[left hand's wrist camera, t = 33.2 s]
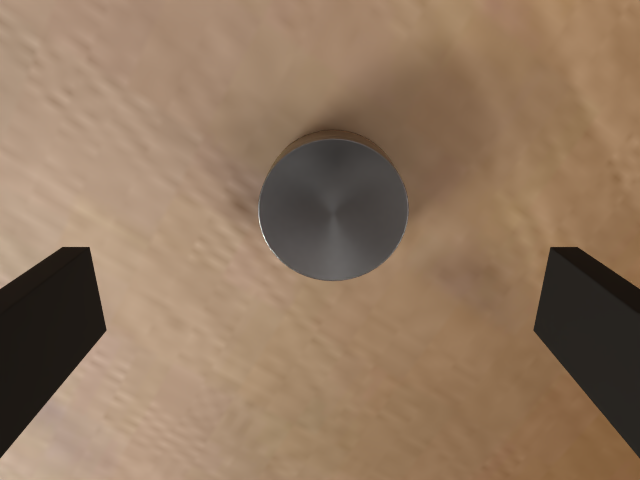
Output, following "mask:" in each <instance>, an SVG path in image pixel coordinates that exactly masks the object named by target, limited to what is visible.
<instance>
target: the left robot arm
mask: <svg viewBox="0 0 640 480" xmlns="http://www.w3.org/2000/svg"><path fill="white" fill-rule="evenodd" d="M105 332H106V325H105V320H104V316H103V311H102V306H101V301H100V296H99V291H98V286H97V281H96V276H95V272H94V267H93V262H92V257H91V252H90V247H62V248H61V249H59V250H58V251H56V252H55V253H53V254H52V255H50V256H49V257H47V258H46V259H44V260H43V261H41V262H40V263H38V264H37V265H35V266H34V267H32V268H31V269H29V270H28V271H26V272H25V273H23V274H22V275H20V276H19V277H18V278H16V279H15V280H13V281H12V282H10V283H9V284H7V285H6V286H4V287H3V288H1V289H0V458H1V457H2V456H3V454H4V453H5V452H6V451H7V450H8V448H9V447H10V446H11V445H12V444H13V442H14V441H15V440H16V439H17V438H18V436H19V435H20V434H21V433H22V432H23V430H24V429H25V428H26V427H27V425H28V424H29V423H30V422H31V421H32V419H33V418H34V417H35V416H36V415H37V413H38V412H39V411H40V410H41V409H42V407H43V406H44V405H45V404H46V403H47V401H48V400H49V399H50V398H51V397H52V395H53V394H54V393H55V392H56V391H57V389H58V388H59V387H60V386H61V385H62V383H63V382H64V381H65V380H66V379H67V377H68V376H69V375H70V374H71V373H72V371H73V370H74V369H75V368H76V366H77V365H78V364H79V363H80V362H81V360H82V359H83V358H84V357H85V356H86V354H87V353H88V352H89V351H90V350H91V348H92V347H93V346H94V345H95V344H96V342H97V341H98V340H99V339H100V338H101V336H102V335H103V334H104V333H105ZM534 332H535V333H536V334H537V335H538V336H539V338H540V339H541V340H542V341H543V342H544V344H545V345H546V346H547V347H548V348H549V350H550V351H551V352H552V353H553V354H554V356H555V357H556V358H557V359H558V360H559V362H560V363H561V364H562V365H563V367H564V368H565V369H566V370H567V371H568V373H569V374H570V375H571V376H572V377H573V379H574V380H575V381H576V382H577V383H578V385H579V386H580V387H581V388H582V389H583V391H584V392H585V393H586V394H587V395H588V397H589V398H590V399H591V400H592V401H593V403H594V404H595V405H596V406H597V407H598V409H599V410H600V411H601V412H602V413H603V415H604V416H605V417H606V418H607V419H608V421H609V422H610V423H611V424H612V425H613V427H614V428H615V429H616V430H617V432H618V433H619V434H620V435H621V436H622V438H623V439H624V440H625V441H626V442H627V444H628V445H629V446H630V447H631V448H632V450H633V451H634V452H635V453H636V454H637V456H638V457H639V458H640V289H639V288H637V287H636V286H634V285H633V284H631V283H630V282H628V281H627V280H625V279H624V278H622V277H621V276H620V275H618V274H617V273H615V272H614V271H612V270H611V269H609V268H608V267H606V266H605V265H603V264H602V263H600V262H599V261H597V260H596V259H594V258H593V257H591V256H590V255H588V254H587V253H585V252H584V251H582V250H581V249H579V248H578V247H550V252H549V257H548V262H547V267H546V272H545V276H544V281H543V286H542V291H541V296H540V301H539V306H538V311H537V316H536V320H535V325H534Z"/></svg>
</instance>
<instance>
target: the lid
mask: <svg viewBox="0 0 640 480" xmlns="http://www.w3.org/2000/svg"><path fill="white" fill-rule="evenodd" d="M408 214H409V204H408V197H407V192H406V189H405V186H404V183H403V181H402V179H401V177H400V175H399V174H398V172H397V170H396V169H395V167H394V166H393V164H392V162H391V161H390V159H389V158H388V156H387V155H386V154H385V153H384V152H383V151H382V150H381V149H380V148H379V147H378V146H377V145H376V144H374V143H373V142H371V141H370V140H368V139H366V138H364V137H362V136H360V135H358V134H355V133H352V132H347V131H342V130H325V131H319V132H314V133H311V134H309V135H306V136H304V137H302V138H300V139H298V140H296V141H295V142H293V143H292V144H290V145H289V146H288V147H287V148H286V149H285V150H284V151H283V152H282V153H281V154H280V155H279V156H278V158H277V159H276V161H275V162H274V164H273V166H272V167H271V169H270V171H269V173H268V175H267V177H266V179H265V182H264V184H263V186H262V189H261V193H260V197H259V204H258V216H259V224H260V227H261V231H262V234H263V236H264V238H265V241H266V242H267V244H268V246H269V248H270V249H271V250H272V252H273V253H274V254H275V255H276V257H277V258H278V259H280V260H281V261H282V262H283V263H284V264H285V265H287V266H288V267H289V268H291V269H292V270H294V271H296V272H297V273H300V274H302V275H304V276H307V277H310V278H314V279H319V280H325V281H341V280H347V279H352V278H356V277H359V276H362V275H364V274H366V273H368V272H370V271H372V270H374V269H375V268H377V267H378V266H379V265H381V264H382V263H383V262H385V261H386V260H387V259H388V258H389V257H390V256H391V254H392V253H393V252H394V251H395V249H396V248H397V246H398V245H399V243H400V241H401V239H402V237H403V235H404V232H405V229H406V226H407V221H408Z"/></svg>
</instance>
